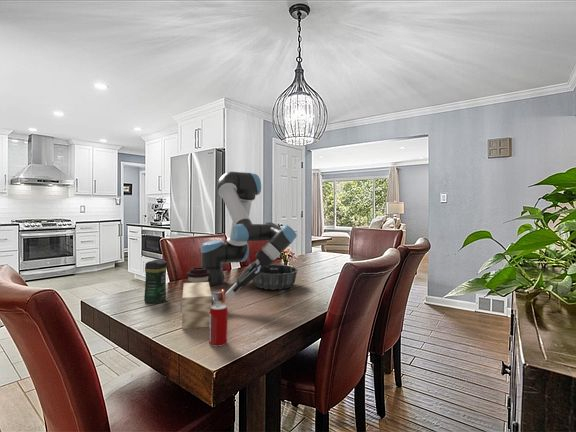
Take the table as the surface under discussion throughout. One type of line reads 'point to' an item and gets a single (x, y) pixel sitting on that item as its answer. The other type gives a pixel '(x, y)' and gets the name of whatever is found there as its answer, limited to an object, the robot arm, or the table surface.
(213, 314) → the soda can
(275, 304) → the table surface
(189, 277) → the coffee cup
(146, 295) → the coffee jar
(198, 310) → the block
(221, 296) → the red plug
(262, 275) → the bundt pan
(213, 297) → the steel plug
